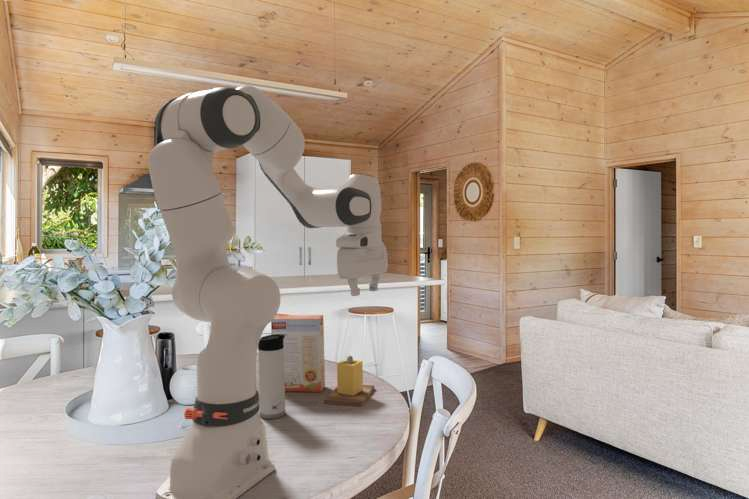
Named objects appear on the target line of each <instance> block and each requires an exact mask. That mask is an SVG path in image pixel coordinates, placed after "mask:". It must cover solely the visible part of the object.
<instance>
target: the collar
mask: <svg viewBox="0 0 749 499" xmlns="http://www.w3.org/2000/svg"><path fill="white" fill-rule="evenodd" d="M363 371H364V370H363V360H355V359H353V364H352V365H351V364H347V358H346V359H344V360H342V361H339V362H337V363H336V374H337V376H336V377H337V381H336V382H337V386H336V387H337V388H338V393H342V394H348V395H355V394H357V393H359V392H360V391H362V390H363V385H364V383H363V382H364V380H363V377H364V376H363V374H364V373H363Z"/></svg>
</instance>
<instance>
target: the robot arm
mask: <svg viewBox="0 0 749 499" xmlns="http://www.w3.org/2000/svg"><path fill="white" fill-rule="evenodd" d="M154 126H155V134H156V137H155V138H156V139H155V141H156V145H155V146H154V147H153V148H152V149H151V150H150V152H149V153H148V155H147V156H148V157H147V165H148V173H149V176H150V182H151V187H152V190H153V191H152V192H153V194H154V197H155V200H156V202H157V205H158V210H159V211H160V214H161V216H162V219H163V222H164V225H165V228H166V230H167V233H168V236H169V239H170V242H171V245H172V249H173V253H174V258H175V267H176V279H175V281H174V282H173V285H172V290H171V294H172V295H171V297H172V302H173V303H174V305H175V307H176V308H177V310H179V311H180V312H182V313H183V314H185V315H186V316H188V317H190V318H191V319H194V320H196V321H199V322H200V321H201V322H204V323H210V331H209V332H210V333H209V337H208V340H207V344H206V346H205V348H203V349H202V350H201V351H200V352H199V353H198V355H197V358H196V387H197V389H196V390H197V396H196V397H195V401H194V404H193V408H192V407H186V408H185V410H184V412H183V416H184V417H183V418H184V419H185V420H192V422H191V424H190V427H189V428H188V429H187V431H186V433H185V434H184V437H183V438H182V440H181V442H180V444H179V445H178V447H177V449H176V450H175V452H174V454H173V456H172V458H171V462H170V470H169V474H170V475H169V476H168V477H167V478H166V479H165V481H164V482H163V483H162V484H161V485H160V486H159V488H157V490H156V491H155V498H156V499H238V498H239V497H240V496H242V495H243V494H244V493H245V492H247V491H248V490H250V489H251V488H252V487H254V486H255V485H256V484H257V483H259V482H260V481H261V480H263V479H264V478H266V477H267V476H268V475H269V474H271V473H272V472H274V471H275V469H276V466H275V462H274V461H273V460H272V459H270V458H269V448H268V438H267V430H266V429H267V428H266V425H265V424H264V422H263V420H262V419H261V417H260V415H259V410H260V409H259V403H260V399H259V390H257V357H258V344H259V341H260V338H261V337H262V336H263V332H264V330H265V328H266V327H267V326H268V324H270V323H271V321H272V320H273V319H274V317H275V316H277V315H278V311H279V309H280V305H281V291H280V288H279V286H278V285H277V284H278V283H276V281H275V280H274V279H273V278H272V277H270V276H268V275H266V274H264V273H262V272H259V271H257V270H254V269H249V268H238V267H237V268H236V267H232V266H231V264H230V262H229V257H228V256H229V254H228V243H229V242H230V240H231V239H232V237H233V236H234V235H233V234H234V228H233V224H232V221H231V218H230V215H229V211H228V209H227V206H226V204H225V200H224V197H223V193H222V191H221V189H220V185H219V182H218V180H217V178H216V175H215V173H214V165H213V160H214V154H215V153H218V152H221V151H222V152H223V151H227V150H229V149H230V150H231V149H236V148H239V147H241V146H243V147H244V149H246V150H247V151H248V152H249V153H250V154H251V156H253V157H254V158H255V159H256V160H257V162H258V164H259V168H260V169H261V171H262V173H263V174H264V176H265V177H266V178H267V180H268V181H269V183H271V184H272V185H273V187H274V188H275V189H276V190H277V191H278V192H279V194H280V195H281V196H282V197H283V198H284V199H285V201H286V202H287V203H288V204H289V206H290V207H291V209H292V211H293V213H294V215H295V216H296V218H297V220H298V222H299V223H300V224H301V225H302V226H304V227H305V228H308V229H318V228H337V227H343V228H344V227H346V232H345V233H343V234H342V235H341V236H339V237H337V239H336V241H335V245H336V248H338V250H337V254H336V267H337V269H336V270H337V275H338V277H339V279H342V280H347V284H348V286H349V288H350V295H351V296H352V297H357V296H360V295H361V289H360V288H359V287H358V282H359V278H363V277H368V276H370V279H371V280H370V284H369V285H368V288H369V291H370V292H377V291H378V290H379V287H378V286H379V282H380V278H381V274H383V273H387V272H388V268H389V263H388V261H389V260H388V251H387V250H388V249H387V247H386V245H385V242H383V239H382V223H381V220H380V219H381V218H380V217H381V212H382V197H381V196H382V194H381V187H380V184H379V183H380V182H379V181H378V178H377V177H375V176H374V175H370V174H364V173H354V174H351V175H349V176H348V179H347V180H346V181H345V182H343V183H342V184H339V185H337V186H333V187H332V186H331V187H314V186H311V185H308V184H307V183H306V182H305V181H304V180H303V178H301V176H300V175H299V174H298V172H297V171H296V170H295V167H296V166H297V165H298V163H299V162H300V161H301V159H302V156H303V154H304V152H305V145H306V143H305V141H306V140H305V136H304V133H303V132H302V130H301V129H300V127H299V126H298V125H297V124H296V122H295V121H294V120H293V118H291V117H290V116H289V114H287V112H286V111H285V110H284V109H283V108H281V106H280V105H278V103H276V102H275V101H274V100H273V99H272V98H270V97H269V96H268V95H267V94H266V93H264V92H263V91H262V90H260V89H259V88H257V87H255V86H252V85H242V86H238V87H236V88H234V87H227V86H218V87H214V88H213V89H207V90H195V91H191V92H189V93H186V94H184V95H183V94H182V95H181V96H180V97H175V98H172V99H169V101H167V102H166V103H164V104H163V105H162V106H161V107H160V108H159V109H158V111H157V115H156V117H155V125H154Z"/></svg>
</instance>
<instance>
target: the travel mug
mask: <svg viewBox="0 0 749 499" xmlns="http://www.w3.org/2000/svg"><path fill="white" fill-rule="evenodd" d="M283 338H285V335H284V334H275V335H271V334H269V335H264V336H261V338H260V341H259V344H258V349H257V366H258V368H257V369H258V370H257V374H258V393H259V399H260V403H259V411H258V415H259V417H260V418H262V419H266V420H275V419H278V418H282V417H283V416H284V415H285V414H286V391H285V379H284V345H283Z"/></svg>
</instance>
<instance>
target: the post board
mask: <svg viewBox="0 0 749 499" xmlns="http://www.w3.org/2000/svg"><path fill="white" fill-rule="evenodd" d="M346 359H347V364H351V365H352V364H353V360H354V359H353V356H352V355H348V356H347V358H346ZM374 390H375V384H374V385H371V384H363V390H362V391H360V392H359V393H357V394H355V395H348V394H342V393H338V388H337V386H336V387H335V388H334V389H333V390H332V391H331V392H330V393H329V395H328V396H327V397H326V398H325V399H324V404H325V405H326V404H328V405H337V406H338V405H340V406H342V405H343V406H354V407H355V406H356V407H358V406H359V407H362V406H363V405H364V403H365V402H366V401H367V399H368V398H369V397H370V395H372V393H373V391H374Z"/></svg>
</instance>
